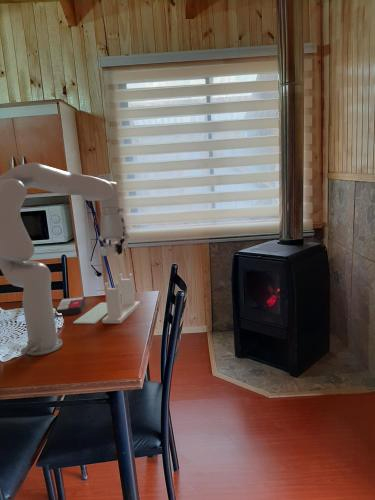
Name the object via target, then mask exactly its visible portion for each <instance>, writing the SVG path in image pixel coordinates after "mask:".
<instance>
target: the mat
mask: <svg viewBox="0 0 375 500" xmlns="http://www.w3.org/2000/svg"><path fill="white" fill-rule="evenodd" d="M107 315H108V311H107V303H106V301H105V302H99V303H98V304H96V305H95V306H93V308H91V309H89V311H87V312H85V313H84V314H83V315H81V316H80V317H78V318H77V319H75V320H74V321H73V322H72V324H73V325H74V324H75V325H76V324H80V325H83V324H84V325H85V324H86V325H96V324H97V323H98V322H99V321H100V320H102V319H104V318H105V317H106V316H107Z"/></svg>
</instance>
